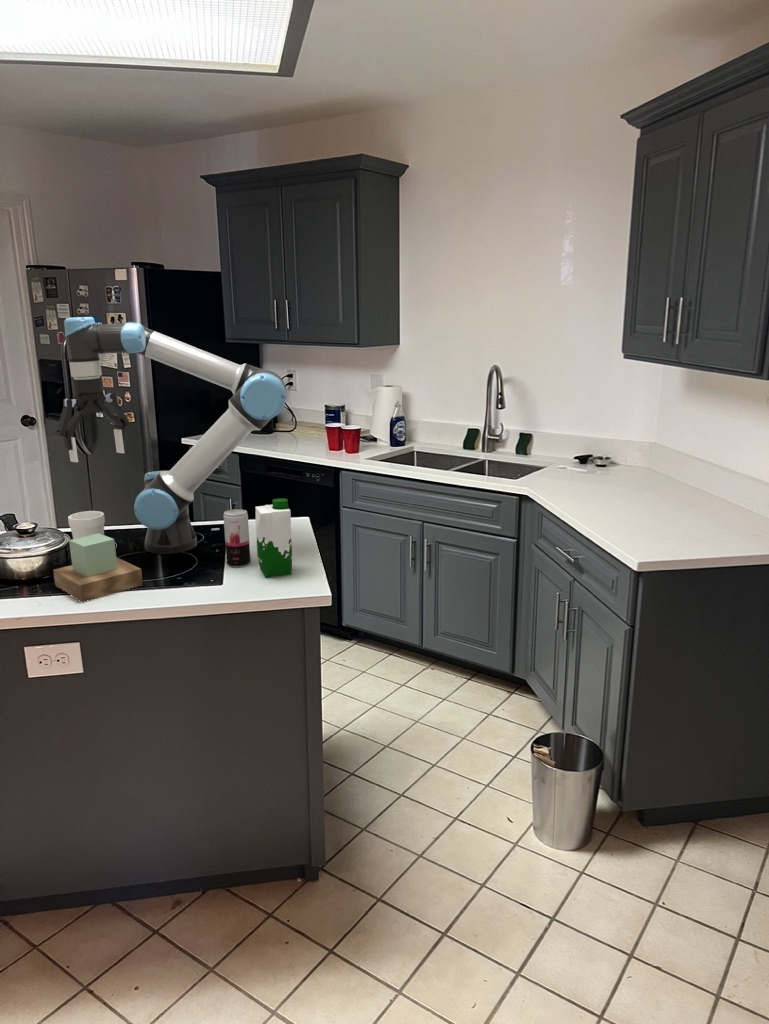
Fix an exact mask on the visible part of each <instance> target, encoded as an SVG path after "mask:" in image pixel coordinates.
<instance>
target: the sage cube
mask: <svg viewBox="0 0 769 1024" xmlns="http://www.w3.org/2000/svg"><path fill="white" fill-rule="evenodd" d="M68 544H69V552H70V558H71V565H72V567H73V570H74V571H76V572H78V573H80V574H82V575H85V576H87V577H90V576H93V575H97V574H100V573H104V572H108V571H111V570H115V569H117V560H116V557H117V552H116V544H115V538H112V537H109V536H107V535H105V534H104V535H102V534H100V533H97V534H93V535H89V536H85V537H80V538H76V539H73V538H72V539H69V540H68Z"/></svg>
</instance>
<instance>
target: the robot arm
mask: <svg viewBox="0 0 769 1024" xmlns="http://www.w3.org/2000/svg"><path fill="white" fill-rule="evenodd" d="M63 324H64V325H63V326H64V334H65V335H64V339H65V342H66V348H67V349H66V350H67V354H68V361H69V362H68V364H69V369H70V377H71V378H73V379H72V380H71V383H72V390H73V393H74V398H72V399H70V398H63V400H62V403H63V404H62V405H63V406H62V407H63V408H62V410H61V411H62V412H61V414H60V417H59V421H58V424H57V427H56V430H55V436H57V437H62V438H63V440H64V447H65V450H66V451H68V452H69V453H68V454H69V461H70V462H72V463H79V456H78V449H77V444H76V438H75V437H73V434H74V433H75V432H76V430H77V428H78V426H79V425H80V423H81V421H82V419H83V418H84V417H85V415H90V414H93V413H94V414H95V413H96V414H98V413H101V415H103V416H104V417H105V419H106V420H107V421H109V422H110V424H111V425H113V426H114V427H115V428H114V429H113V436H114V441H115V448H116V449H115V451H116V453H118V454H125V446H124V441H125V439H126V435H125V430H126V428H127V427H128V426H130V425H131V422H130V420H129V418H128V417H127V416H126V414H125V413H124V411H123V409H122V408H121V406H120V404H119V402H118V401H117V395H116V394H115V393H110V392H109V393H106V394H105V392H104V390H105V389H104V383H103V381H104V380H103V378H102V377H101V376H102V375H103V373H102V367H101V366H102V365H101V359H100V355H101V354H102V355H106V354H138V355H141V356H143V357H146V358H149V359H151V360H153V361H157V362H159V363H162V364H164V365H166V366H169V367H172V368H174V369H177V370H179V371H182V372H184V373H187V374H190V375H192V376H195V377H197V378H199V379H202V380H204V381H207V382H209V383H212V384H215V385H217V386H220V387H223V388H225V389H227V390H229V391H231V392H232V394H233V395H232V396H231V397H230V398H229V399H228V408H227V409H226V411H225V412H224V413H223V414H222V415H221V416H219V418H218V419H217V420H216V421H215V422H214V424H212V426H210V427H209V429H208V430H207V431H206V432H204V434H202V436H201V437H200V438H199V439H198V440H197V441H196V442H195V443H194V444H193V445H192V446H191V448H190V449H189V450H188V451H187V452H186V453H185V454H184V455H183V456H182V457H181V458H180V459H179V460H178V461H177V463H175V464H174V466H172V467H171V469H170V470H159V471H158V470H155V471H149V472H146V473H145V474H144V480H143V481H144V488H143V490H141V492H140V493H139V494H138V495H137V496H136V497H135V500H134V505H133V510H134V514H135V517H136V519H137V521H138V522H140V524H141V525H143V526H144V527H146V528H147V529H146V535H145V539H144V550H145V551H146V552H149V553H151V554H158V555H159V554H160V555H163V554H164V555H167V554H168V555H169V554H177V553H183V552H187V551H190V550H192V549H194V548H195V547H197V545H198V537H197V535H196V532H195V530H194V527H193V525H192V523H191V520H190V513H189V512H190V511H189V510H190V509H189V506H190V504H191V503H193V501H194V500H195V498H194V492H195V491H196V490H197V489H198V488H199V487H200V486H201V485H202V483H204V482H205V481H206V479H208V477H209V476H210V475H211V474H212V473H213V472H214V471H215V470H216V469H217V468H218V467H219V466H220V465H221V464H222V463H223V462H224V461H225V459H226V458H228V456H229V455H230V454H231V453H232V452H233V451H234V450H236V448H237V447H238V446H239V445H240V444H241V443H242V442H243V440H245V439H246V437H248V435H250V433H252V431H261V430H262V429H263V428H264V427H265V426H266V425H267V424H268V423H269V422H270V421H271V420H272V419H273V418H275V417H277V416H278V415H279V414H280V413H281V412H282V411H283V410H284V407H285V405H286V402H287V387H286V384H285V382H284V380H283V379H282V377H281V376H280V375H279V374H278V373H276V372H274V371H270V370H267V369H263V368H261V367H260V368H259V367H257V366H253V365H251V364H249V363H243V364H238V363H235V362H233V361H231V360H228V359H226V358H223V357H220V356H218V355H216V354H214V353H211V352H208V351H206V350H203V349H200V348H197V347H196V346H193V345H190V344H188V343H186V342H183V341H180V340H178V339H176V338H174V337H170V336H168V335H165V334H163V333H161V332H158V331H155V330H153V329H150V328H148V327H145V326H144V325H142V324H141V323H138V322H136V321H128V322H124V323H123V322H122V323H121V322H120V323H108V324H107V323H106V324H98V323H97V322H95V318H94V317H92V316H83V317H80V316H77V317H67V318H66V319H65V320H64V321H63ZM106 402H107V403H108V405H109V406H110V408H111V409H112V411H113V413H114V414H115V415H116V416H115V415H114V414H113V413H112V412H111V411H110V410H109V408H108V407H107V406H106V405H105V403H106ZM74 406H76V409H75V411H74V412H73V408H74ZM72 412H73V415H72ZM71 416H72V418H71ZM70 418H71V419H70Z"/></svg>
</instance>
